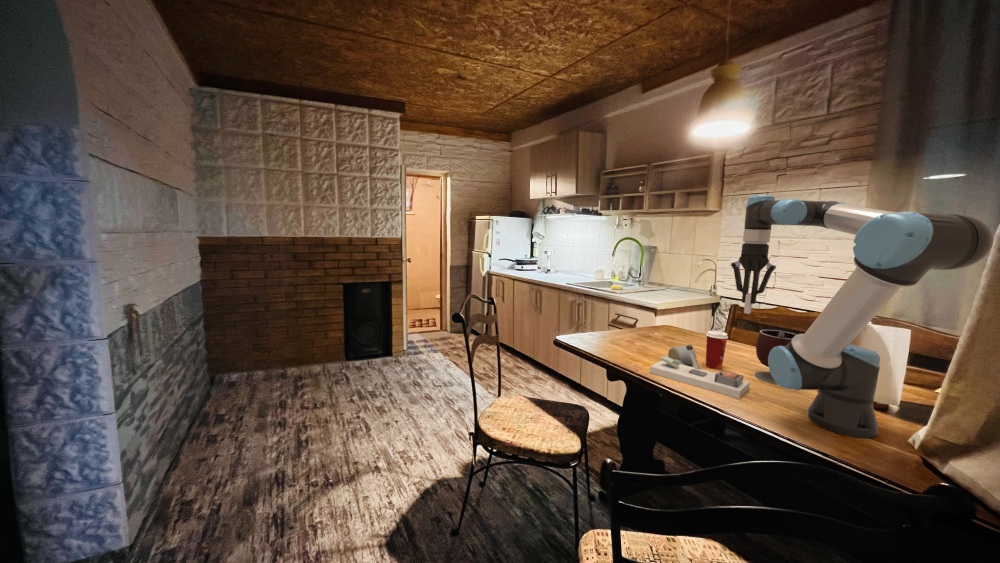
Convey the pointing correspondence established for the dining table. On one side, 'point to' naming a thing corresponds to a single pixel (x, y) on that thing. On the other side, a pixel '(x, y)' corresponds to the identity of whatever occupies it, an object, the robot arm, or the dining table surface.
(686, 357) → the ceramic mug
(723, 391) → the panel
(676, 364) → the green rocker
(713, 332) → the paper cup
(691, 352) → the metal lever
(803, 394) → the dining table surface
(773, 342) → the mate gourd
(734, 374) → the terracotta button
